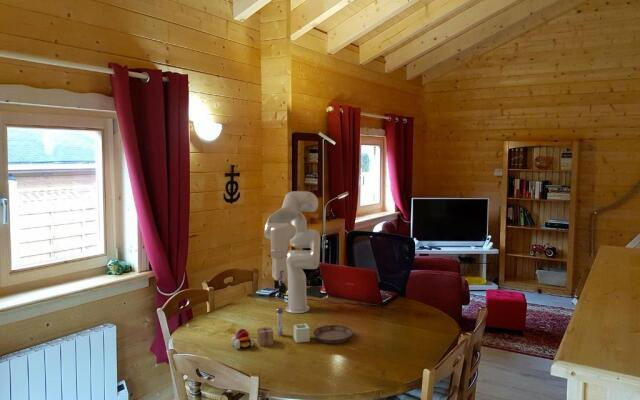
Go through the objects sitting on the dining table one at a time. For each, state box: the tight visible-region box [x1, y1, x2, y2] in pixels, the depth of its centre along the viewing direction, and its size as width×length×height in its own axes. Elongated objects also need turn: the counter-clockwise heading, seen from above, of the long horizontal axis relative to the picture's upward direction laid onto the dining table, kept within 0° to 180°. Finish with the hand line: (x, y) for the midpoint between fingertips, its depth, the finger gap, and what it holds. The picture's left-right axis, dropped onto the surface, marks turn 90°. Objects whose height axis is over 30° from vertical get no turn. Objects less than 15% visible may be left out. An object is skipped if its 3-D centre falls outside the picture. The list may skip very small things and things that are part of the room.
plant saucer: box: [312, 324, 354, 344], centre depth 235 cm, size 18×18×3 cm
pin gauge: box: [275, 307, 284, 337], centre depth 238 cm, size 3×3×12 cm
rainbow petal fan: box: [230, 328, 255, 350], centre depth 227 cm, size 8×10×7 cm
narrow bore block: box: [256, 326, 274, 347], centre depth 230 cm, size 6×6×6 cm
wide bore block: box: [292, 323, 311, 343], centre depth 233 cm, size 6×6×6 cm
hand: (280, 291), depth 237 cm, fingers open, 9 cm apart
